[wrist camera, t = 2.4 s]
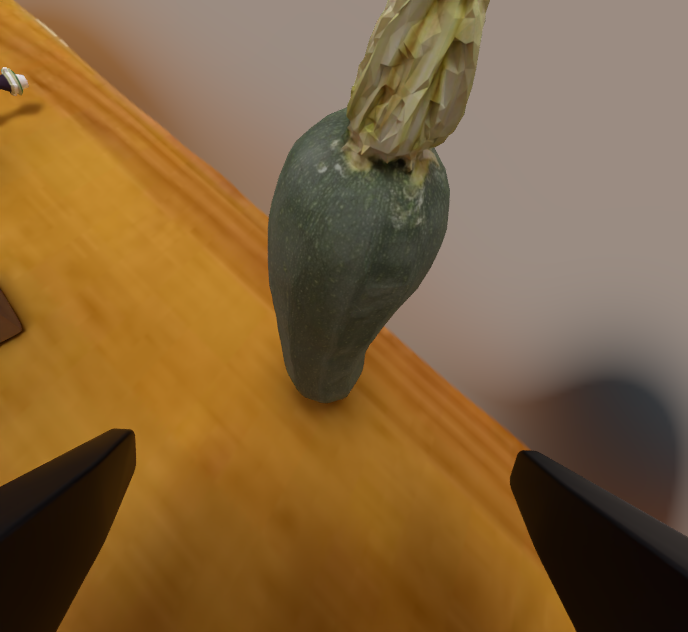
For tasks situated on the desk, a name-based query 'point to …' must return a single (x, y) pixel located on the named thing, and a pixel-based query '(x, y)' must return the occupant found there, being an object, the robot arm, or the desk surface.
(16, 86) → the action figure
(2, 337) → the wooden block
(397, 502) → the desk surface
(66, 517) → the robot arm
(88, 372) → the desk surface
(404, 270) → the vegetable
